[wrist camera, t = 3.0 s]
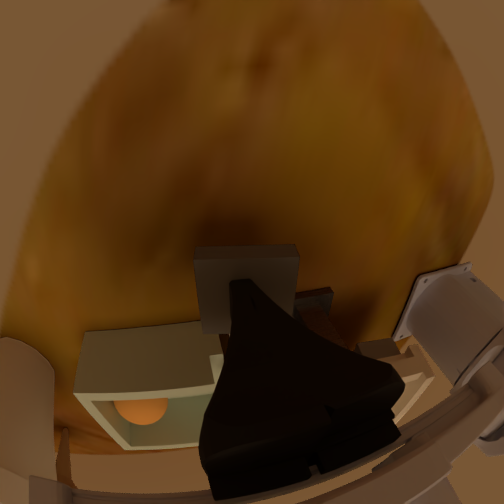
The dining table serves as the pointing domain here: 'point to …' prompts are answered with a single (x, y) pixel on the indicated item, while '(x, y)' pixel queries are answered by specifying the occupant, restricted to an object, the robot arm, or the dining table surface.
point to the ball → (142, 410)
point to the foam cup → (25, 419)
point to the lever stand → (317, 313)
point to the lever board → (289, 305)
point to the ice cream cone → (64, 461)
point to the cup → (150, 381)
